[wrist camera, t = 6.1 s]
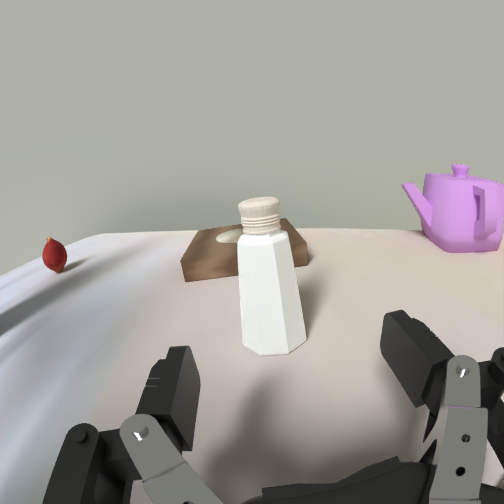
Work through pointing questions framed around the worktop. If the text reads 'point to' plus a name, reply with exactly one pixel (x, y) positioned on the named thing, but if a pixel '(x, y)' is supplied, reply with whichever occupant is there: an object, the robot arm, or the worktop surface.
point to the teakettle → (460, 210)
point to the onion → (54, 255)
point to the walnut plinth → (228, 252)
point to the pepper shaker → (267, 281)
